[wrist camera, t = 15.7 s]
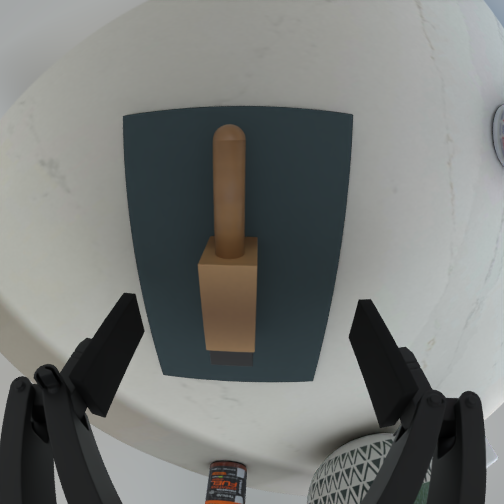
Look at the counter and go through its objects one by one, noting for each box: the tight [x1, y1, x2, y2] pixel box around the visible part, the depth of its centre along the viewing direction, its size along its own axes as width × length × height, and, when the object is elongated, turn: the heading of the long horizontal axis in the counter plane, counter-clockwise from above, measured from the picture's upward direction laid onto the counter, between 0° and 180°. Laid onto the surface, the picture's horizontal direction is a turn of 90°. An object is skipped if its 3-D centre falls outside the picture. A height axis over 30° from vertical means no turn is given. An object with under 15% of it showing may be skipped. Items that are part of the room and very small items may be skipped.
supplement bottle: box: [205, 461, 247, 504], centre depth 29 cm, size 6×6×11 cm
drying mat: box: [123, 106, 353, 382], centre depth 19 cm, size 22×14×1 cm, turn 179°
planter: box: [307, 433, 432, 504], centre depth 21 cm, size 20×20×21 cm
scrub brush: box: [198, 124, 258, 367], centre depth 16 cm, size 15×3×4 cm, turn 179°
